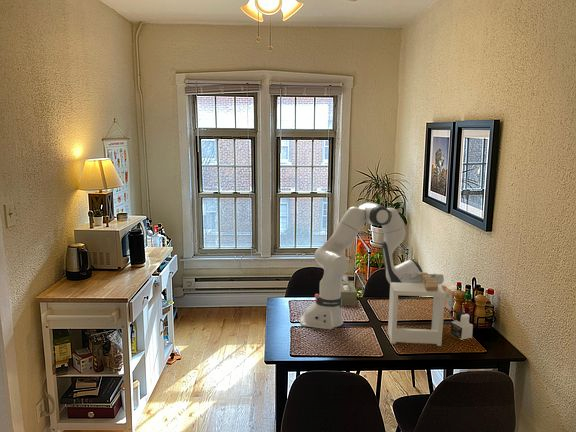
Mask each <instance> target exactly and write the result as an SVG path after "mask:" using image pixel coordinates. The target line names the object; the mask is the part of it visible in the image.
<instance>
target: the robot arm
mask: <svg viewBox="0 0 576 432" xmlns="http://www.w3.org/2000/svg"><path fill="white" fill-rule="evenodd" d="M366 223H368V224H370V225H373V226H376V227H377V226H378V227H380V226H381V228H382V231H383V235H384V236H383V241H382V242H381V250H382V257H383V262H384V269H385V278H386V281H387V282H388V283H389V285H390V282H396V283H423V281H422V280H421V272H423V269H422V266H421V265H420V263H418V262H417V261H416V260H414V259H410V258H409V259H408V260H407V259H406V260H405V261H403V262H401V263H399V264H397V265H394V264H395V263H394V259H393V254H394V251H395V250H396V249H397V248H398V246H399V245H400V244H401V243H403V241H405V238H406V235H407V232H406V228H405V224H404V222H403V219H402V218H401V215H400V214H399V212H398V210H397V209H396V208H394V207H386V206H385V205H381V204H378V203H376V202H373V201H363V202H362V203H360V204H359V205H358V206H351V207H349V208H347V210H346V212H345V213H344V215H343V216H342V217H341V219H340V220H339V222H338V224H337V226H336V227H335V230H334V231H333V233H332V235H331V236H330V237H329V238H328V240H327V241H326V242H324V244H323V245H321V246H320V247H318V248H317V249H316V250H315V252H314V255H313V256H314V260H315V262H316V263H317V264H318V266H319V267H321V268H322V269H323V275H322V278H321V280H319V293H315V294H314V298H315V302H314V303H312V304H310V305H309V306H307V308H306V309H305V310H304V314H302V315H301V317H300V318H299V323H300V325H301V326H303V327H309V328H315V329H322V330H333V329H335V328H338V327H340V326H342V325H343V324H344V320H343V314H342V306H343V305H342V297H341V283H342V282H343V279H342V278H343V276H344V275H345V274H346V272H348V270H349V267H350V264H349V263H350V262H349V260H348V259H347V257H346V256H345V255H344V254H343V252H344V251H346V249H348V248H350V247H351V246H353V243H354V242H355V240H356V238H357V236H358V234H359V232H360V231H361V228H362V227H363V226H364V225H365V224H366ZM423 273H424V272H423ZM428 275H429V276H431V277H432V278H435V279H436V280H437V281H438V284H439V285H440V284H444V281H445V279H444V278H445V277H444V275H443V274H442V273H441V274H439V273H438V274H437V273H428Z"/></svg>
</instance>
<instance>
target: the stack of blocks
mask: <svg viewBox="0 0 576 432" xmlns="http://www.w3.org/2000/svg"><path fill="white" fill-rule="evenodd" d="M440 286H441V288H442V289H443V291H444V292H445V303H444V308H445V307H446V309H447V310H448V311H449V312H451V311H452V308H453V304H454V293H455V292H456V290H457V287H458V286H456V285H455V284H452V283H442V284H440ZM433 298H434V297H432V299H433Z"/></svg>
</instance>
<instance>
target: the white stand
mask: <svg viewBox="0 0 576 432" xmlns="http://www.w3.org/2000/svg"><path fill="white" fill-rule="evenodd" d="M399 296H407V297H408V296H409V297H430V298H431V297H432V299H433V300H432V301H433V302H432V315H431V329H426V328H424V329H423V328H422V329H421V328H405V327H404V328H402V327H400V328H399V327H398V326H397V324H398V323H397V322H398V304H399ZM433 297H434V298H433ZM388 302H389V303H388V305H389V306H388V323H387V334H388V338H389V340H390V344H391V345H396V344H397V343H411V344H413V343H415V344H434V345H436V346H437V347H442V342H443V341H442V340H443V330H444V329H443V328H444V316H445V315H444V313H445V307H444V303H445V292H444V291H443V289H442V288H441V286H440V285H439V284H438V291H426V289H425V288H424V284H423V283H404V282H403V283H396V282H390V284H389V301H388ZM397 327H398V328H397Z"/></svg>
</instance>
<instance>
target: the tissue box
mask: <svg viewBox="0 0 576 432" xmlns="http://www.w3.org/2000/svg"><path fill="white" fill-rule="evenodd" d="M341 297H342V306H357V302H358V301H357V300H358V299H357V298H358V291H357V288H356V286H355V283H354V282H353V281H349V276H348V275H347V274H346V273H344V275H343V278H342V283H341Z"/></svg>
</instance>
